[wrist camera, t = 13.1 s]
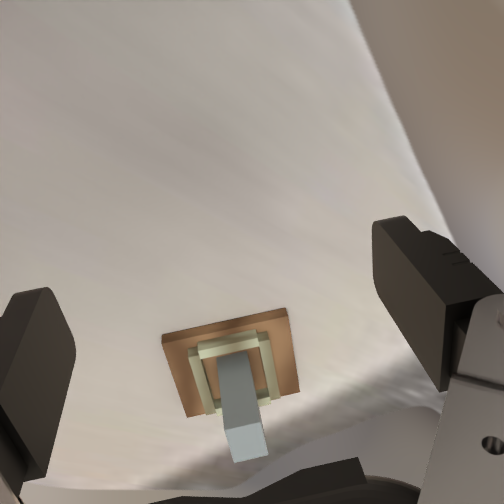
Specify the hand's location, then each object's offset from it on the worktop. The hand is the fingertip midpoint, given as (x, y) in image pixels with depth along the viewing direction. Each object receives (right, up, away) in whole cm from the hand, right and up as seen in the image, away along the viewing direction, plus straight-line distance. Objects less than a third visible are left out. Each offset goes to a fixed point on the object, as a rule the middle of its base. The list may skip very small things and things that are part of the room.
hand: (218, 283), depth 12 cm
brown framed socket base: (-1, -12, +44) cm, 46 cm away
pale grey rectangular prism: (-1, -13, +43) cm, 45 cm away
